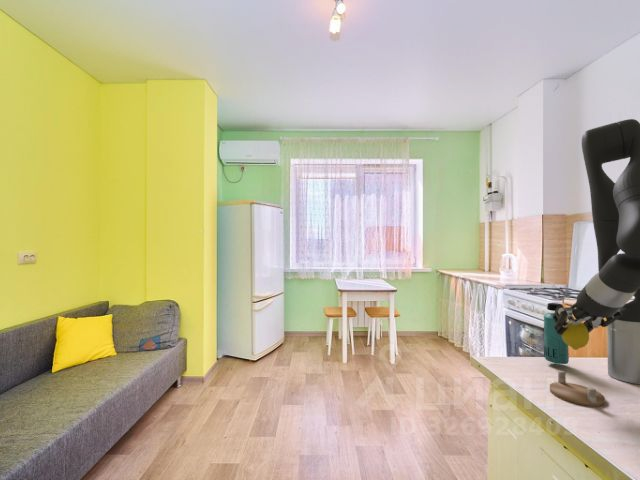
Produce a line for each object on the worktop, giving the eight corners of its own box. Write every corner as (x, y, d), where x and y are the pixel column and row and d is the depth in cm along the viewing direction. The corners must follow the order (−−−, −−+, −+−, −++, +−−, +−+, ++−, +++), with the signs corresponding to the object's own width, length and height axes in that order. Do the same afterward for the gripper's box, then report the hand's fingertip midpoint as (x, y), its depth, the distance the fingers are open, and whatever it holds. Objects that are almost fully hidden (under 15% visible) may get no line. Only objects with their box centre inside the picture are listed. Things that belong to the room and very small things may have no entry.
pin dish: (551, 382, 88) (550, 368, 88) (603, 393, 81) (603, 378, 81) (548, 397, 79) (548, 381, 79) (606, 411, 72) (606, 394, 72)
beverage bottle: (570, 365, 100) (568, 303, 101) (568, 371, 96) (566, 306, 96) (545, 360, 105) (544, 300, 105) (542, 365, 100) (541, 303, 101)
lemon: (594, 354, 77) (593, 321, 77) (569, 352, 78) (568, 320, 78) (581, 347, 82) (580, 316, 83) (557, 345, 84) (556, 316, 84)
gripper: (629, 280, 73) (590, 319, 84) (564, 279, 74) (534, 319, 86) (652, 307, 67) (607, 345, 79) (581, 306, 69) (547, 344, 80)
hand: (569, 331), depth 82 cm, fingers closed on lemon, 5 cm apart
